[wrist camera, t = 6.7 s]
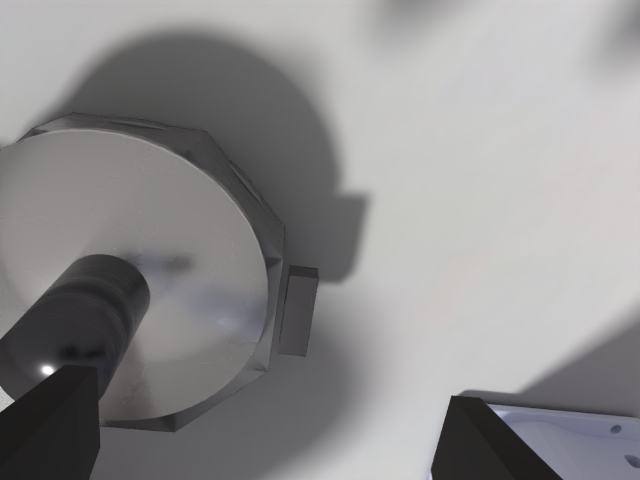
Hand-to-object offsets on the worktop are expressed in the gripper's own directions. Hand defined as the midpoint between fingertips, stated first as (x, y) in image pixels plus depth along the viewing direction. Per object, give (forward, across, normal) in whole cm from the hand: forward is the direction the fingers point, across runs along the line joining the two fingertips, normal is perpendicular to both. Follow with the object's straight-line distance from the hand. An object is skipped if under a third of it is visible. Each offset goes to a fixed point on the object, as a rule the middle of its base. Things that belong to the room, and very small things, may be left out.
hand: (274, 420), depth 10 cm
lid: (+8, +6, +1) cm, 10 cm away
